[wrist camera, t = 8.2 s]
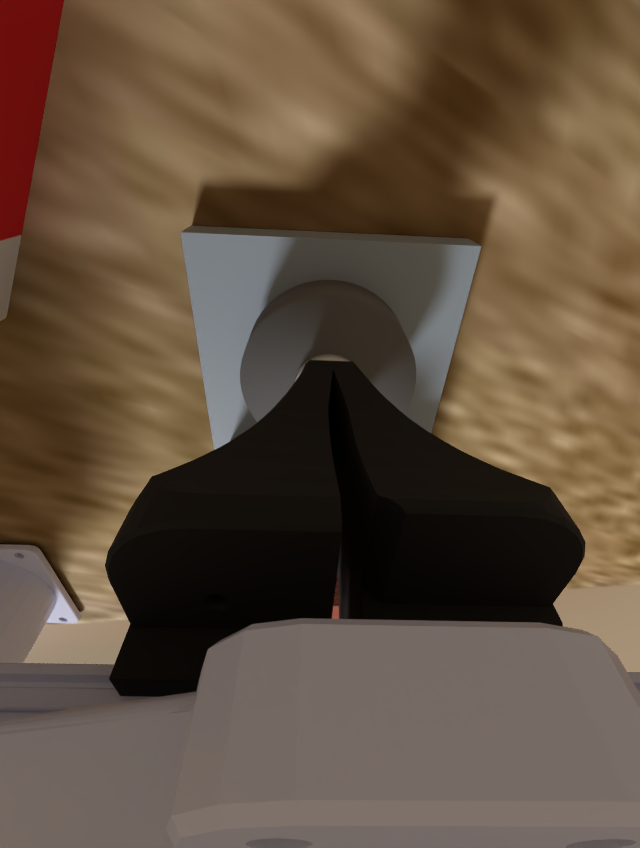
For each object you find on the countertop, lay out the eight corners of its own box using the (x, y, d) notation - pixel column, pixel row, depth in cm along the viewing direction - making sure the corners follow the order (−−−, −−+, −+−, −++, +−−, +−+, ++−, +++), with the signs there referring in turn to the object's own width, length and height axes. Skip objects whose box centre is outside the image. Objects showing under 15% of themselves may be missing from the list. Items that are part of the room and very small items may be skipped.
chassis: (236, 551, 22) (223, 614, 19) (191, 225, 12) (150, 250, 9) (390, 554, 22) (401, 617, 19) (468, 238, 12) (516, 267, 10)
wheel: (252, 421, 14) (243, 459, 12) (241, 276, 11) (227, 298, 9) (392, 426, 14) (403, 464, 13) (420, 283, 11) (438, 307, 9)
